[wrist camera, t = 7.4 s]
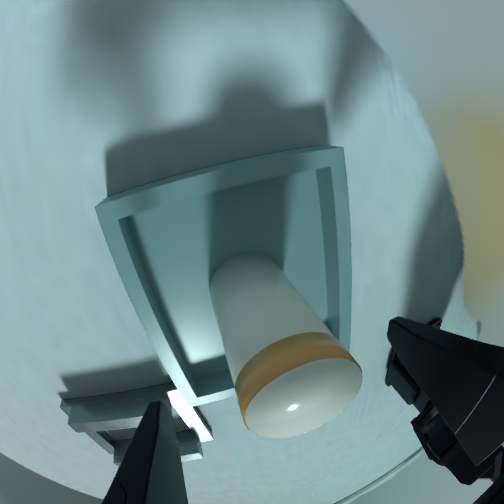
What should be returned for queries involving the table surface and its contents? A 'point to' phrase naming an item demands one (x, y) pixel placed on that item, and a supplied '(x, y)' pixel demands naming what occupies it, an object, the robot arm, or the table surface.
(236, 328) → the cylinder
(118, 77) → the table surface
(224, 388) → the tray
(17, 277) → the table surface
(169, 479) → the robot arm
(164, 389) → the clip rails
